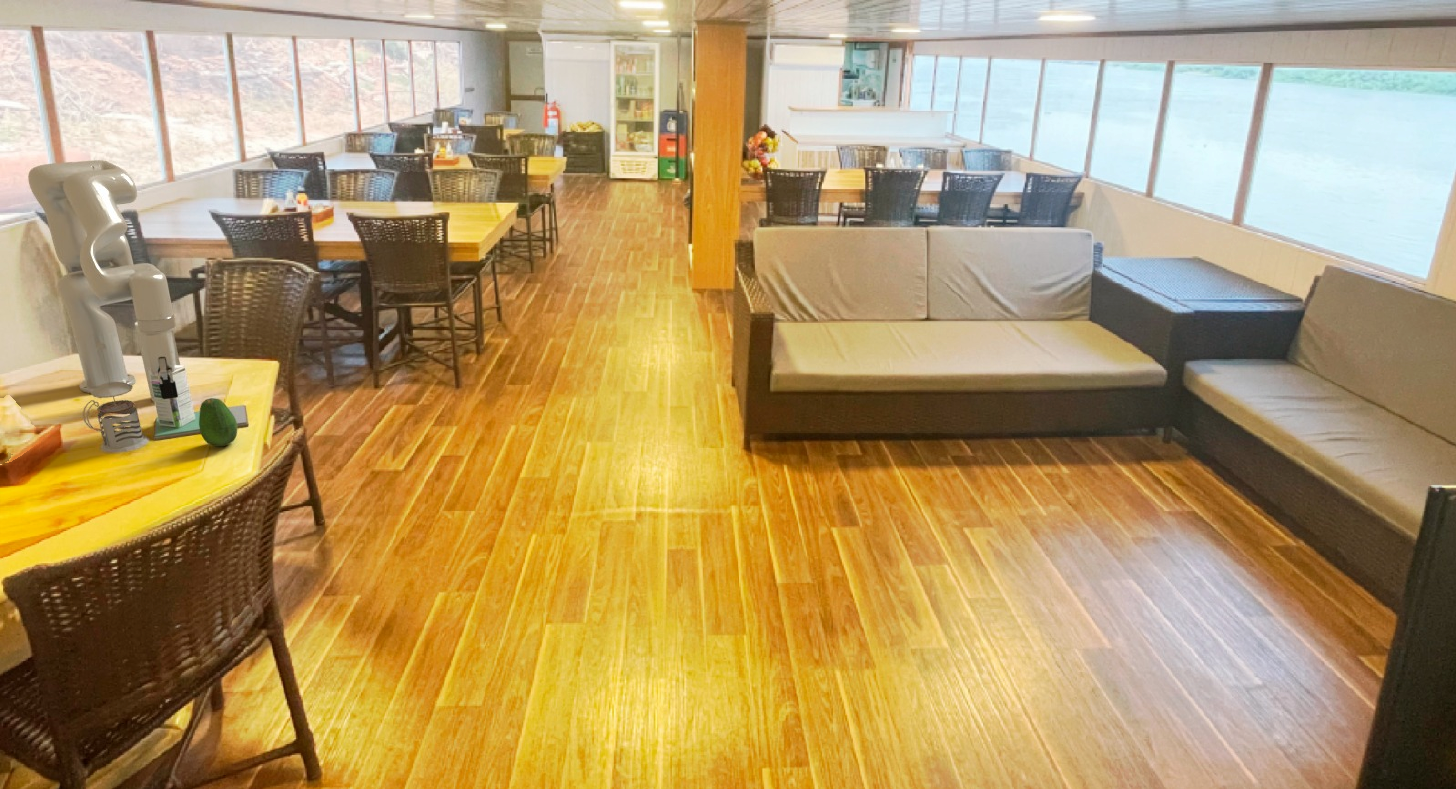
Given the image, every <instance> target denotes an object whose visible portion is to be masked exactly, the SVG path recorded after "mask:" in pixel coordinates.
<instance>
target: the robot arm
mask: <svg viewBox="0 0 1456 789" xmlns="http://www.w3.org/2000/svg"><path fill="white" fill-rule="evenodd" d="M27 178H28V186H29V188H30V190H31V192H32V194H33V196H34V198H35V199H36V200H37V202H38V204H39V205H40V206H41V208H42V210H43V212H44V214H45V217H46V219H47V225H48V228H49V231H50V232H49V233H50V237H51V240H52V244H53V247H54V250H55V251H54V252H55V254H56V257H57V259H58V261H59V262H60V264H62V266H63V265H64V266H66V267H70V268H74V267H75V268H76V267H78V268H79V267H80V268H81V269H82V270H78V271H77V270H76V271H73V272H69V273H66V274H64V275H62V276H61V277H60V278H59V279H58V281H57V284H56V288H57V292H58V294H59V297H60V299H61V301H62V303H63V306H64V308H65V310H66V313H67V316H68V318H69V319H68V320H69V322H70V326H71V330H72V333H73V338H74V342H75V344H76V350H77V352H78V353H77V354H78V356H79V361H80V365H81V368H82V371H83V372H82V373H83V376H84V380H83V381H82V382H81V383H79V388H80V389H79V390H80V391H81V392H84V393H88V394H91V392H92V391H93V390H94V389H95V388H97V387H98V386H100V385H102V384H105V383H109V379H108V374H109V378H110V382H124V383H127V384H130V385H132V386H133V385H135V382H136V377H135V375H133V374H130V373H127V369H126V363H125V361H124V359H125V358H124V356H123V352H122V348H121V347H122V346H121V343H120V339H119V335H118V330H117V325H116V322H115V320H114V318H113V317H112V315H110V314H109V313H108V312H106V311H105V310H102V309H101V307H102V306H106V305H110V304H116V303H121V302H125V301H130V300H132V305H133V309H134V314H135V317H136V322H137V323H138V328H139V332H140V333H142V334H145V339H146V346H147V351H148V356H149V361H150V367H151V373H152V374H155V373H157V372H158V374H159V381H160V383H159V385H160V390H161V394H162V398H163V399H170V398H177V397H178V393H177V389H176V384H175V381H173V374H172V372H174V371H175V349H174V343H173V338H172V333H171V331H173V332H174V331H175V330H176V329H177V324H176V320H175V315H174V309H173V304H172V300H171V296H170V289H169V284H168V280H167V277H166V275H165V273H164V272H162V271H160V270H159V269H158V267H157V266H155V265H154V264H152V263H147V262H146V263H144V262H143V263H135V264H134V260H133V257H132V252H131V248H130V245H129V240H128V238H127V236H126V232H127V231H128V224H127V222H126V220H125V218H124V217H123V215H122V213H121V211H120V209H119V207H118V206H119V205H126V204H132V203H134V201H136V200H137V197H138V192H137V191H138V190H137V186H136V184H135V181H134V180H133V178H132V177H131V176H130V174H129V173H128V172H127V171H126V170H124V169H123V168H121V167H120V166H118V165H115V164H114V163H112V162H110V161H107V160H103V159H101V160H100V159H99V160H97V159H96V160H84V161H83V160H82V161H68V162H65V161H64V162H55V163H54V162H53V163H47V164H46V163H45V164H40V165H37V166H35V167H33V168H31V169H30V170H29V172H28V177H27ZM104 263H105V264H106V263H109V266H104V267H100V265H99V264H104ZM100 343H104V344H105V345H106V346H107V348H106V349H103V354H104V358H105V362H106V366H107V370H108V374H107V370H106V366H105V362H104V358H103V354H102V350H98V349H97V345H98V344H100ZM167 369H170V370H167ZM169 374H170V376H169Z"/></svg>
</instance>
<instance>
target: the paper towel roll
mask: <svg viewBox="0 0 1456 789" xmlns="http://www.w3.org/2000/svg"><path fill="white" fill-rule="evenodd" d="M134 328H135V332H136V336H137V340H138V345H139V349H140V350H139V351H140V354H141V359H142V362H143V368H144V373H145V377H146V381H147V384H148V390H149V395H150V399H151V401H152V402H154V403H155V400H154V396H153V391H152V387H151V382H150V377H149V373H148V371H149V370H150V369H151V367H150V361H149V356H148V351H147V346H146V339H145V334H142V333H140V332H139V328H138V323H137V321H136V322H134ZM171 333H172V338H173V343H174V349H175V365H180V366H181V362H180V357H179V352H178V347H177V343H176V338H175V334H174V330H173V331H171Z"/></svg>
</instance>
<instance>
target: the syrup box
mask: <svg viewBox="0 0 1456 789" xmlns="http://www.w3.org/2000/svg"><path fill="white" fill-rule="evenodd" d="M167 370H170V369H167ZM148 373H149V377H150V382H151V387H152V391H153V396H154V400H155V402H154V405H155V410H156V413H157V414H156V415H157V417H158V420H159V425H160V426H170V427H177V428H180V427H182V426H184V425H186V424H188V423H189V422H191V421H193V420H195V414H194V412H195V410H194V406H193V400H192V395H191V391H190V390H191V389H190V384H189V381H188V375H187V370H186V365H185V364H184V365H183V364H182V365H181V364H180V365H175V371H174V372H172V374H173V381H175V384H176V389H177V393H178V397H177V398H170V399H163V398H162V394H161V390H160V385H159V383H160V381H159V374H158V372H157V373H155V374H152V373H151V369H150V370H149V371H148ZM169 376H170V374H169Z"/></svg>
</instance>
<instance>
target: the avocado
mask: <svg viewBox="0 0 1456 789" xmlns="http://www.w3.org/2000/svg"><path fill="white" fill-rule="evenodd" d="M228 407H229V406H227V405H226V404H225V403H224V401H222V400H221V399H219V398H212V397H211V398H210V397H209V398H207V399H205V400H204V401H203V402H202V403H201V404H200V407H199V411H200V416H199V427H200V434H199V435H201V437H202V438H203V440H204V441H205V442H206V444H209V445H210V446H212V447H213V446H214V447H224V446H229V445H230V444H231V443H232V442H234V441H235V440H236V438H237V435H238V428H237V422H236V419H235V417H234V415H233V414H232V412H231V411H230V410H229V409H228Z"/></svg>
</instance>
